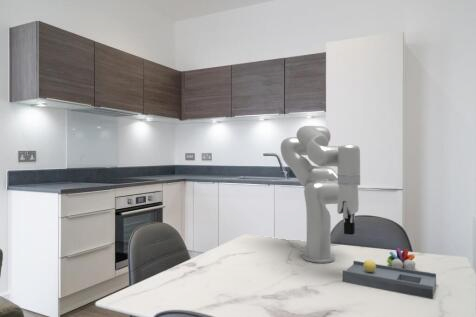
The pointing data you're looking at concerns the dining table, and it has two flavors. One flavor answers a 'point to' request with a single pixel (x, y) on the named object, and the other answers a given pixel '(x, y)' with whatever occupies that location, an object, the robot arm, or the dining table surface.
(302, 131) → the robot arm
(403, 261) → the rainbow white-lobed toy
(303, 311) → the dining table surface
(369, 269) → the ball
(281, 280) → the dining table surface
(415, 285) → the tray
